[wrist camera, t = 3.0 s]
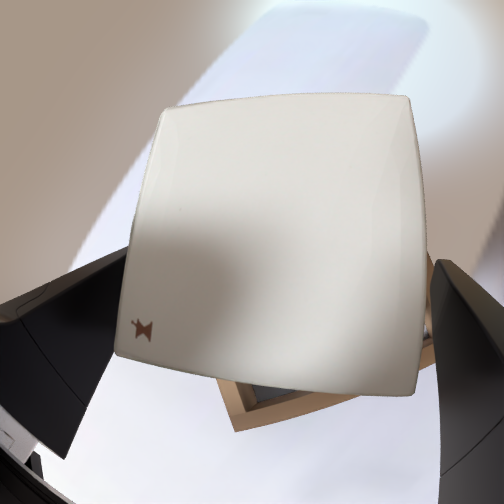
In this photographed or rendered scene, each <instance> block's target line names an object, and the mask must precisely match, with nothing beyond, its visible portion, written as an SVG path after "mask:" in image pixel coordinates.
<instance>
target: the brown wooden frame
mask: <svg viewBox="0 0 504 504" xmlns="http://www.w3.org/2000/svg"><path fill="white" fill-rule="evenodd" d="M433 270H434V266H433V263H432V261H431V259H430V256H429V254H428V252H427V285H426V310H425V325H426V328H427V331H428V334H429V337H430V338H428V339H426V340H424V341H423V345H422V353H421V360H420V366H419V370H421V369H423V368H426V367H428V366H430V365H432V364H434V363H435V354H434V347H433V338H432V320H431V302H430V282H431V278H432V274H433ZM216 380H217V383H218V386H219V389H220V392H221V395H222V398H223V400H224V403H225V406H226V409H227V412H228V415H229V417H230V420H231V423H232V426H233V428H234V431H235V432H239V431H243V430H248V429H252V428H256V427H261V426H265V425H269V424H273V423H276V422H280V421H284V420H288V419H291V418H295V417H298V416H301V415H305V414H308V413H311V412H315V411H318V410H321V409H324V408H327V407H330V406H333V405H336V404H339V403H341V402H344V401H347V400H350V399H353V398H355V397H358V396H361V395H347V394H334V393H323V392H313V391H303V390H298V391H295V392H292V393H289V394H285V395H282V396H279V397H275V398H272V399H268V400H265V401H261V402H257V399H256V396H255V393H254V390H253V387H252V384H247V383H240V382H234V381H228V380H222V379H216Z"/></svg>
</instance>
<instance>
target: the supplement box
mask: <svg viewBox="0 0 504 504" xmlns="http://www.w3.org/2000/svg"><path fill="white" fill-rule="evenodd" d="M426 237H427V236H426V214H425V200H424V188H423V177H422V169H421V161H420V154H419V146H418V141H417V134H416V129H415V123H414V118H413V113H412V109H411V103H410V100H409V98H408V97H407V96H403V95H389V94H372V93H299V94H280V95H268V96H258V97H248V98H239V99H228V100H218V101H209V102H201V103H194V104H188V105H181V106H174V107H168V108H166V109H165V110H164V111H163V113H162V114H161V116H160V119H159V122H158V125H157V128H156V132H155V135H154V139H153V143H152V147H151V151H150V154H149V158H148V161H147V165H146V169H145V173H144V177H143V181H142V185H141V189H140V194H139V198H138V202H137V207H136V211H135V215H134V218H133V222H132V227H131V233H130V240H129V246H128V252H127V257H126V263H125V270H124V276H123V282H122V289H121V296H120V303H119V310H118V318H117V327H116V335H115V341H114V352H115V354H116V355H117V356H120V357H123V358H127V359H131V360H135V361H138V362H142V363H146V364H150V365H154V366H158V367H163V368H167V369H171V370H176V371H181V372H185V373H190V374H195V375H200V376H205V377H211V378H216V379H222V380H228V381H234V382H240V383H247V384H254V385H261V386H268V387H276V388H285V389H294V390H303V391H313V392H323V393H334V394H347V395H362V396H393V397H403V396H411V395H413V394H414V393H415V389H416V384H417V378H418V372H419V366H420V360H421V353H422V345H423V334H424V325H425V310H426V285H427V238H426Z"/></svg>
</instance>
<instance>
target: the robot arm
mask: <svg viewBox="0 0 504 504" xmlns="http://www.w3.org/2000/svg"><path fill="white" fill-rule="evenodd" d="M127 252H128V246H127V247H125V248H122V249H120V250H118V251H115V252H113V253H111V254H109V255H106V256H104V257H102V258H100V259H98V260H95V261H93V262H91V263H89V264H87V265H84V266H82V267H80V268H78V269H76V270H74V271H72V272H69V273H67V274H65V275H63V276H61V277H59V278H57V279H55V280H53V281H51V282H48V283H46V284H44V285H42V286H40V287H38V288H36V289H34V290H32V291H30V292H27V293H25V294H23V295H21V296H19V297H16V298H14V299H12V300H10V301H7V302H5V303H3V304H1V305H0V504H76V503H74V502H73V501H71V500H70V499H68V498H67V497H65V496H64V495H63V494H61V493H60V492H58V491H57V490H56V489H54V488H53V487H52V486H50V485H49V484H48V483H46V482H45V481H44V479H43V472H42V466H41V459H40V455H39V454H37V453H36V452H35V451H33V450H34V448H35V447H36V445H37V444H38V442H39V443H40V444H42V445H43V446H45V447H46V448H47V449H49V450H50V451H52V452H53V453H54V454H56V455H57V456H59V457H60V458H62V459H63V460H64V459H65V458H66V456H67V454H68V451H69V449H70V446H71V444H72V442H73V439H74V437H75V435H76V432H77V430H78V428H79V425H80V423H81V421H82V419H83V416H84V414H85V412H86V410H87V408H86V407H88V405H89V403H90V400H91V398H92V396H93V394H94V392H95V390H96V388H97V386H98V383H99V381H100V379H101V377H102V375H103V373H104V371H105V369H106V367H107V365H108V363H109V361H110V359H111V357H112V355H113V353H114V341H115V335H116V327H117V318H118V310H119V303H120V296H121V289H122V282H123V276H124V270H125V263H126V257H127ZM430 302H431V320H432V338H433V347H434V354H435V363H436V372H437V382H438V394H439V410H440V440H441V456H440V483H439V498H438V504H504V307H503V306H502V305H501V304H500V303H499V302H498V301H496V300H495V299H494V298H493V297H492V296H491V295H490V294H489V293H488V292H487V291H486V290H484V289H483V288H482V287H481V286H480V285H479V284H478V283H477V282H475V281H474V280H473V279H472V278H471V277H470V276H469V275H467V274H466V273H465V272H464V271H463V270H461V269H460V268H459V267H458V266H457V265H456V264H454V263H453V262H452V261H451V260H445V259H438V260H437V261H436V263H435V266H434V270H433V274H432V278H431V282H430Z"/></svg>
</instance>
